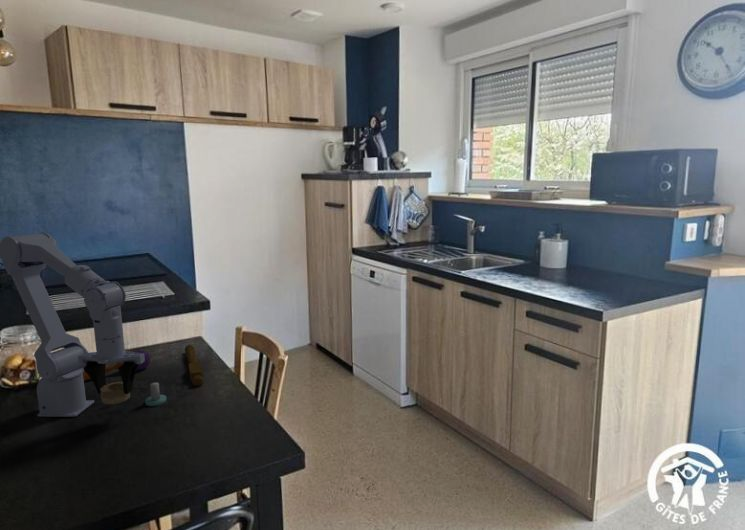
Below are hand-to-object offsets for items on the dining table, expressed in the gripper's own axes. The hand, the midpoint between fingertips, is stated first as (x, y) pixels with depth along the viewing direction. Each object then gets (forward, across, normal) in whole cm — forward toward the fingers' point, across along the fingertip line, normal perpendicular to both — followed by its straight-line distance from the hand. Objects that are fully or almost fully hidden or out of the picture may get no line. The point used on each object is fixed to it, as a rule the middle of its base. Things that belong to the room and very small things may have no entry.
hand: (115, 392), depth 114 cm
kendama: (+8, -16, +27) cm, 32 cm away
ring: (+2, 0, 0) cm, 2 cm away
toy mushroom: (+7, +5, +10) cm, 13 cm away
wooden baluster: (+8, +5, +32) cm, 33 cm away
